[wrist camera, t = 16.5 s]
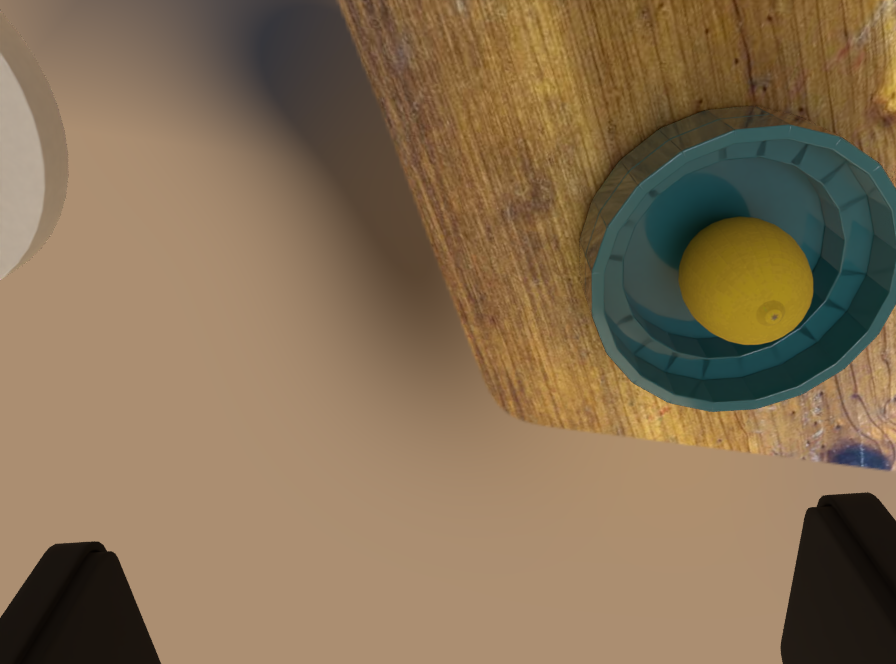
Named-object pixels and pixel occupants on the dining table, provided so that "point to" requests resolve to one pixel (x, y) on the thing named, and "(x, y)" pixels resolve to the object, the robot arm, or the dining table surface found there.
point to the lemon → (746, 280)
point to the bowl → (726, 196)
